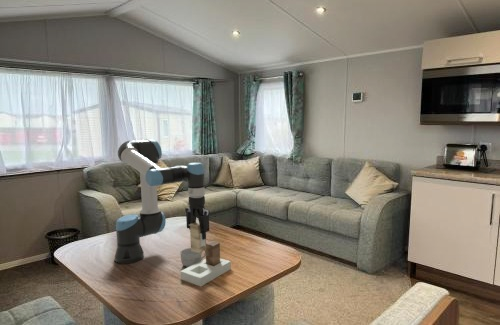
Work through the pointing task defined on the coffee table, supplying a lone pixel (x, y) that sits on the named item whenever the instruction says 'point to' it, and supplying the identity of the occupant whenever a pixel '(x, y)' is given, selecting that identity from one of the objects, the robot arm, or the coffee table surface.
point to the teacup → (190, 257)
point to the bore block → (204, 272)
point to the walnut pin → (212, 253)
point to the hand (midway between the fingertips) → (198, 244)
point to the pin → (196, 238)
